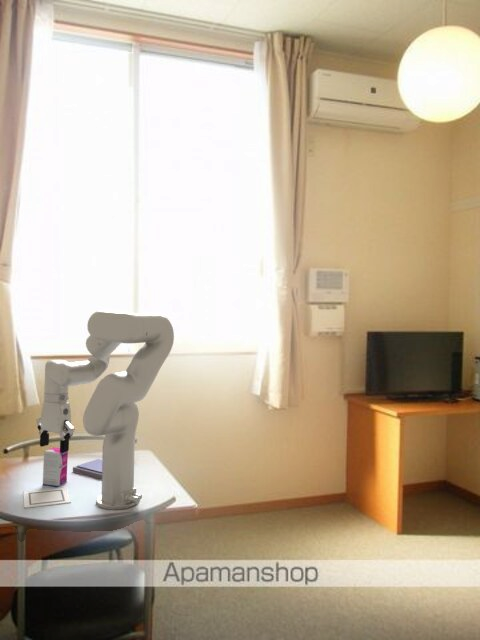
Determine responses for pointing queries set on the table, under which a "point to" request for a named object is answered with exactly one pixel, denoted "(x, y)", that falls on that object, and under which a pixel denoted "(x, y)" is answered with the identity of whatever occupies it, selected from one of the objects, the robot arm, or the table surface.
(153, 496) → the table surface
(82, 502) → the table surface
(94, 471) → the ink pad
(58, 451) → the supplement box
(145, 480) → the table surface
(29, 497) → the marked card
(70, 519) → the table surface
